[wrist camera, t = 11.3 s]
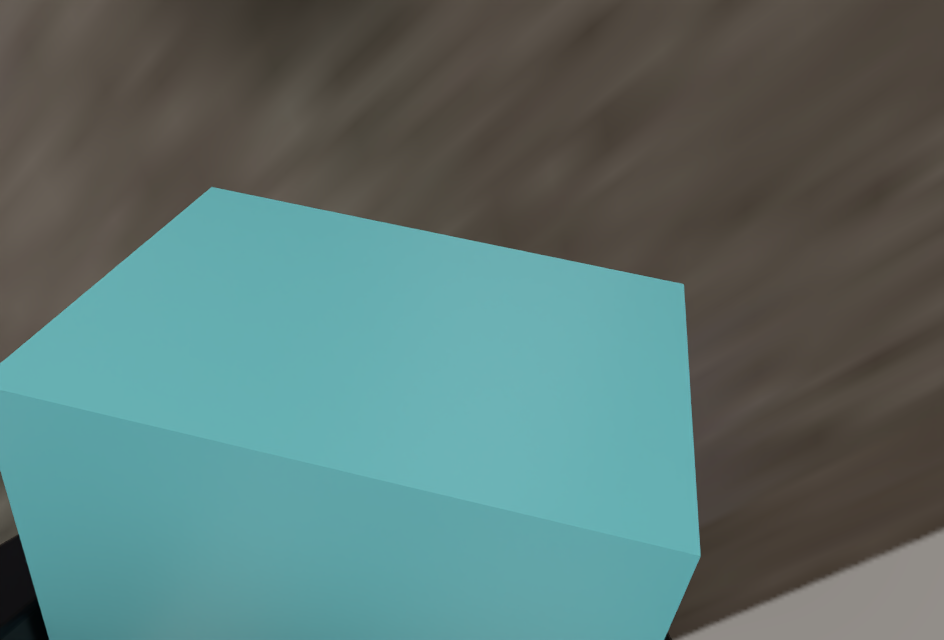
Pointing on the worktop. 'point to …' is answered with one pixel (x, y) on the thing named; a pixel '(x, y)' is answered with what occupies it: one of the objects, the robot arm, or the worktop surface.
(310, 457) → the teal brick
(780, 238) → the worktop surface
